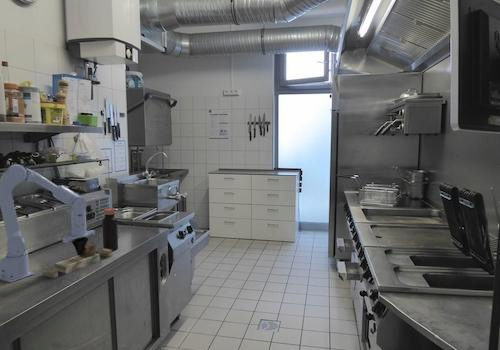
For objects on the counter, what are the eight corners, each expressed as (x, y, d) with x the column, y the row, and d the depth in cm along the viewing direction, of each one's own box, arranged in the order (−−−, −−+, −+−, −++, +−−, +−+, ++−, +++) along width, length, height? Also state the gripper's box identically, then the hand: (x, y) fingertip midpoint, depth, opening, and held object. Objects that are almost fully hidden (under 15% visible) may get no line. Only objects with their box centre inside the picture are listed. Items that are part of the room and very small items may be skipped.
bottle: (113, 251, 170) (111, 211, 168) (100, 250, 172) (98, 210, 170) (120, 247, 177) (119, 208, 175) (108, 246, 178) (107, 207, 176)
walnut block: (86, 257, 153) (86, 247, 153) (79, 256, 155) (79, 246, 155) (95, 254, 157) (94, 244, 157) (88, 253, 159) (87, 243, 159)
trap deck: (54, 278, 138) (54, 270, 138) (42, 275, 141) (42, 267, 141) (112, 256, 164) (112, 249, 164) (101, 253, 167) (101, 247, 167)
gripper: (70, 229, 143) (71, 261, 144) (99, 221, 156) (100, 251, 157) (58, 226, 146) (60, 258, 147) (88, 219, 159) (89, 249, 160)
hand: (80, 254), depth 153 cm, fingers closed
